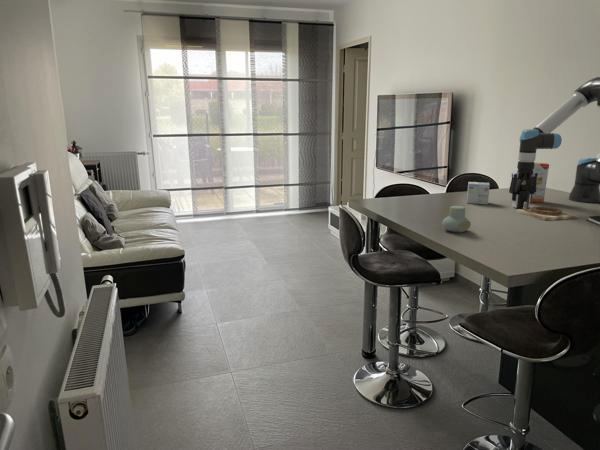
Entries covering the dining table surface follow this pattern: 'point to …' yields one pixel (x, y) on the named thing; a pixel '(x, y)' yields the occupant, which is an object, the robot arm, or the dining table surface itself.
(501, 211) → the dining table surface
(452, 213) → the air freshener
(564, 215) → the seat plate
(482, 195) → the light bulb box
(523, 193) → the supplement bottle
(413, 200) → the dining table surface
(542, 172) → the cracker box
